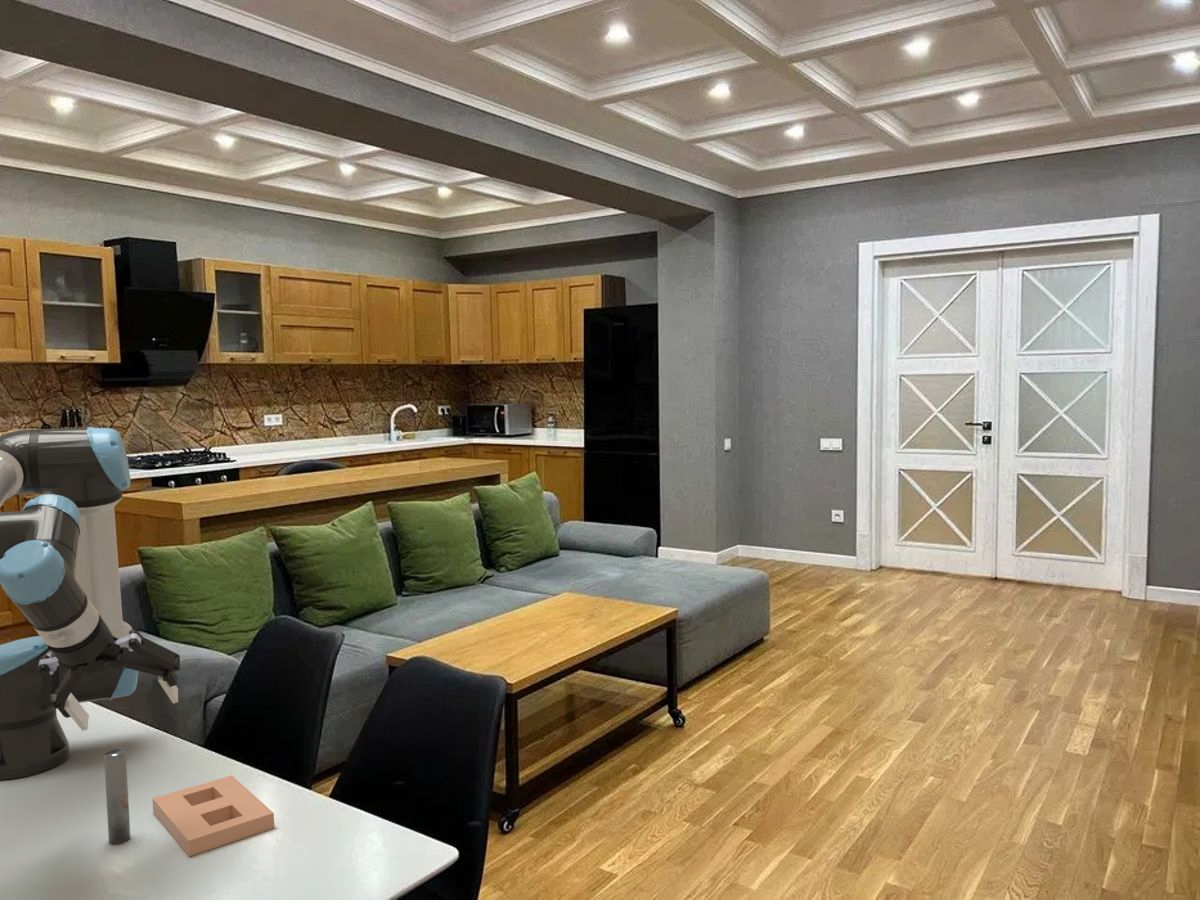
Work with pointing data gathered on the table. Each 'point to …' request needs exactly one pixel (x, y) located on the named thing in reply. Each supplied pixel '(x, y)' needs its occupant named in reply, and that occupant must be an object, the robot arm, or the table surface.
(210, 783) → the terracotta block
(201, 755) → the table surface
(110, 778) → the steel dowel
